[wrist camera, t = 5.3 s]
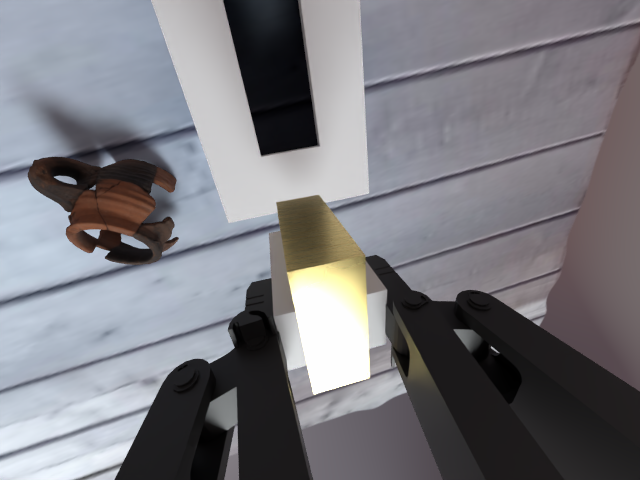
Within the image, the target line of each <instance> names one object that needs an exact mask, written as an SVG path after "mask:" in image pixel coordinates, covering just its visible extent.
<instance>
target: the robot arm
mask: <svg viewBox="0 0 640 480" xmlns="http://www.w3.org/2000/svg"><path fill="white" fill-rule="evenodd" d="M269 241H270V260H271V278H270V279H265V280H261V281H256V282H252V283H251V285H250V286H249V288H248V289H247V293H246V304H245V306H246V307H245V311H243V312H241V313H239V314H238V315H237V316H235V317H234V318H233V320H232V321H231V322H230V324H229V328H228V332H229V334H230V337H231V339H232V342H233V344H234V347H235V348H234V349H233V350H232V351H231V352H229V353H228V354H226V355H225V356H223V357H221V358H219V359H217V360H216V361H214V362H212V363H210V364H209V363H208V362H207V361H205V360H203V359H193V360H189V361H186V362H184V363H183V364H181V365H179V366H178V367H176V368H175V369H174V370H173V371H172V372H171V373H170V374H169V375H168V376H167V378H166V379H165V381H164V382H163V384H162V386H161V388H160V390H159V392H158V394H157V396H156V398H155V400H154V402H153V404H152V406H151V408H150V410H149V412H148V414H147V416H146V418H145V420H144V422H143V424H142V426H141V428H140V430H139V432H138V434H137V436H136V438H135V440H134V442H133V444H132V446H131V448H130V450H129V452H128V454H127V456H126V458H125V460H124V462H123V464H122V466H121V468H120V470H119V472H118V474H117V476H116V478H115V480H224V477H225V472H226V467H227V462H228V457H229V452H230V447H231V442H232V437H233V432H234V427H235V425H236V424H237V423H238V455H239V480H313V477H312V473H311V469H310V465H309V461H308V456H307V452H306V448H305V443H304V439H303V435H302V431H301V427H300V422H299V418H298V414H297V410H296V406H295V401H294V397H293V393H292V389H291V385H290V381H289V377H288V371H289V370H292V369H296V368H300V367H303V366H307V361H306V356H305V352H304V347H303V343H302V338H301V334H300V329H299V325H298V320H297V315H296V311H295V306H294V302H293V297H292V293H291V288H290V284H289V279H288V275H287V269H286V263H285V256H284V250H283V243H282V237H281V231H278V232H273V233H269ZM365 262H366V288H367V315H368V342H369V349H370V348H374V347H378V346H381V345H385V344H386V335H387V336H388V338H389V340H390V341H391V343H392V346H391V366H392V368H395V363H396V365H397V368H398V370H399V373H400V375H401V378H402V380H403V383H404V385H405V388H406V390H407V392H408V395H409V397H410V400H411V402H412V405H413V407H414V410H415V412H416V415H417V417H418V419H419V422H420V424H421V427H422V429H423V432H424V434H425V437H426V439H427V442H428V444H429V447H430V449H431V452H432V454H433V457H434V459H435V462H436V464H437V466H438V469H439V471H440V474H441V476H442V479H443V480H640V392H639V391H638V390H636V389H635V388H633V387H632V386H630V385H629V384H627V383H626V382H624V381H623V380H621V379H619V378H618V377H616V376H615V375H613V374H612V373H610V372H609V371H607V370H606V369H604V368H603V367H601V366H599V365H598V364H596V363H595V362H593V361H592V360H590V359H589V358H587V357H586V356H584V355H583V354H581V353H579V352H578V351H576V350H575V349H573V348H572V347H570V346H569V345H567V344H565V343H564V342H562V341H561V340H559V339H558V338H556V337H555V336H553V335H552V334H550V333H549V332H547V331H545V330H544V329H542V328H541V327H539V326H538V325H536V324H535V323H533V322H532V321H530V320H529V319H527V318H525V317H524V316H522V315H521V314H519V313H518V312H516V311H515V310H513V309H512V308H510V307H508V306H507V305H505V304H504V303H502V302H501V301H499V300H498V299H496V298H495V297H493V296H491V295H489V294H487V293H484V292H481V291H476V290H466V291H462V292H460V293H459V294H458V295H457V298H456V302H454V301H432V300H431V299H430V298H429V297H428V296H427V295H425V294H423V293H421V292H417V291H413V290H411V289H410V288H409V287H408V285H407V284H406V283H405V282H404V281H403V280H402V279H401V277H400V276H399V275H398V274H397V273H396V272H395V271H394V270H393V268H392V267H390V265H389V264H388V263H387V262H386V260H385V259H383V258H381V257H379V256H377V255H374V256H369V257H365ZM491 346H492V347H493V348H495V349H496V350H497V351H498V352H499V353H497V352H495V351H494V350H492V349H491ZM287 368H288V370H287Z"/></svg>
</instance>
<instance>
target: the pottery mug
mask: <svg viewBox="0 0 640 480" xmlns="http://www.w3.org/2000/svg"><path fill="white" fill-rule="evenodd" d="M54 176H69V177H72V178H74V179H75V180H76V181H77V185H73V184H67V183H64V182H61V181H59V180H57V179H55V178H54ZM28 178H29V181H30V183H31V184H32V186H33V187H34V188H35V189H36V190H37V191H39V192H40V193H41V194H43V195H44V196H46V197H48V198H50V199H52V200H53V201H55V202H57V203H59V204H60V205H61V206H62V207H63V208H64V210H65V211H67V212H71V215H69V216H68V218H69V221H70V223H71V225H70V226H69V227H67V229H66V235H67V238H68V239H69V241H70V242H72V243H73V244H74V245H75V246H77V247H78V248H80V249H81V250H83V251H85V252H87V253H92V252H93V251H94V249H95V247H99V248H101V249H105V250H108V251H110V252H109V253H108V254H107V256H105V259H107V260H109V261H112V262H117V263H123V264H132V265H141V264H151V263H153V262H156V261H158V260H159V259H160V257H161V256H162V252H164V251H166V250H168V249H169V248H170V247H172V246H173V245H174V244H175V243H176V242H177V240H178V239H179V238H178V237H175V238H173V239H172V240H168V239H169V238H170V237H171V234H172V229H173V228H174V222H173V220H172V218H171V217H166V218H165V219H164V220H163V221H159V222H155V223H142V222H143V221H144V220H145V219H146V218H147V217H148V216H149V215H150V214H151V213H152V212H153V211H154V210H155V208H156V207H155V206H156V202H155V200H154V198H153V197H152V196H150V195H149V194H150V193H151V186H152V183H155V184H157V185H159V186H160V187H162V188H164V189H165V190H167V191H168V192H170V193H171V192H173V191H174V190H175V184H176V179H175V178H174V177H173V176H172V175H171V174H169V173H168V172H167V171H165V170H163V169H161V168H159V167H157V166H155V165H153V164H150V163H147V162H145V161H140V160H135V159H127V160H122V161H118V162H116V163H114V164H111V165H108V166H106V167H102V168H101V167H98V166H91V165H88V164H86V163H83V162H80V161H77V160H74V159H70V158H65V157H48V158H42V159H39V160H34V161H33V164H32V167H30V170H29V172H28ZM94 185H96V190H89V189H90V188H92V187H93V186H94ZM88 229H100V230H101V231H100V236H99V238H98V239H96V238H94V237H92V236H91V235H89V234H87V233H86V232H85V231H83V230H88ZM121 233H122V234H125V235H128V236H132V237H134V238H135V239H137V240H139V241H141V242H143V243H144V244H146V245H147V246H148V247H149V248H150V249H139V248H136V247H133V246H130V245H128V244H125V243H123V242H121ZM167 240H168V241H167Z"/></svg>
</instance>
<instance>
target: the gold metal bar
mask: <svg viewBox="0 0 640 480" xmlns="http://www.w3.org/2000/svg"><path fill="white" fill-rule="evenodd" d="M276 205H277V211H278V218H279V224H280V230H281V237H282V243H283V250H284V256H285V263H286V269H287V275H288V279H289V284H290V288H291V293H292V297H293V302H294V306H295V311H296V315H297V320H298V325H299V329H300V334H301V338H302V343H303V347H304V352H305V356H306V361H307V365H308V370H309V375H310V379H311V384H312V388H313V393H314V394H316V393H319V392H323V391H326V390H330V389H333V388H337V387H340V386H344V385H347V384H350V383H354V382H357V381H361V380H364V379H368V378H370V369H369V342H368V315H367V288H366V262H365V254H364V253H363V252H362V251H361V249H360V248H359V247H358V245H357V244H356V243H355V241H354V240H353V239H352V237H351V236H350V235H349V234H348V232H347V231H346V230H345V228H344V227H343V226H342V224H341V223H340V222H339V220H338V219H337V218H336V217H335V215H334V214H333V213H332V211H331V210H330V209H329V207H328V206H327V205H326V203H325V202H324V201H323V199H322V198H321V197H320V196H319V195H314V196H309V197H303V198H297V199H292V200H286V201H281V202H276Z"/></svg>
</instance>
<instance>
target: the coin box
mask: <svg viewBox="0 0 640 480" xmlns="http://www.w3.org/2000/svg"><path fill="white" fill-rule="evenodd" d="M151 1H152V4H153V7H154V10H155V13H156V15H157V18H158V21H159V24H160V27H161V30H162V33H163V36H164V38H165V41H166V44H167V47H168V50H169V53H170V56H171V58H172V61H173V64H174V67H175V70H176V73H177V76H178V79H179V81H180V84H181V87H182V90H183V93H184V96H185V99H186V101H187V104H188V107H189V110H190V113H191V116H192V119H193V122H194V124H195V127H196V130H197V133H198V136H199V139H200V142H201V144H202V147H203V150H204V153H205V156H206V159H207V162H208V165H209V167H210V170H211V173H212V176H213V179H214V182H215V185H216V188H217V190H218V193H219V196H220V199H221V202H222V205H223V208H224V210H225V213H226V216H227V219H228V222H229V223H231V222H236V221H241V220H246V219H250V218H255V217H260V216H265V215H269V214H274V213H278V211H277V205H276V202H281V201H286V200H292V199H297V198H303V197H309V196H314V195H319V196H320V197H321V198H322V199H323V201H324V202H325V203H326V202H331V201H336V200H341V199H345V198H350V197H355V196H360V195H364V194H369V180H368V160H367V139H366V118H365V97H364V77H363V56H362V35H361V14H360V0H298V4H299V11H300V19H301V26H302V33H303V41H304V48H305V55H306V62H307V70H308V77H309V84H310V92H311V99H312V106H313V113H314V121H315V128H316V135H317V143H318V145H317V146H312V147H306V148H301V149H295V150H289V151H284V152H278V153H273V154H267V155H261V153H260V149H259V145H258V141H257V137H256V133H255V129H254V124H253V120H252V116H251V112H250V108H249V104H248V100H247V96H246V92H245V88H244V84H243V80H242V75H241V71H240V67H239V63H238V59H237V55H236V51H235V47H234V43H233V39H232V35H231V31H230V27H229V22H228V18H227V14H226V10H225V6H224V2H223V0H151Z"/></svg>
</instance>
